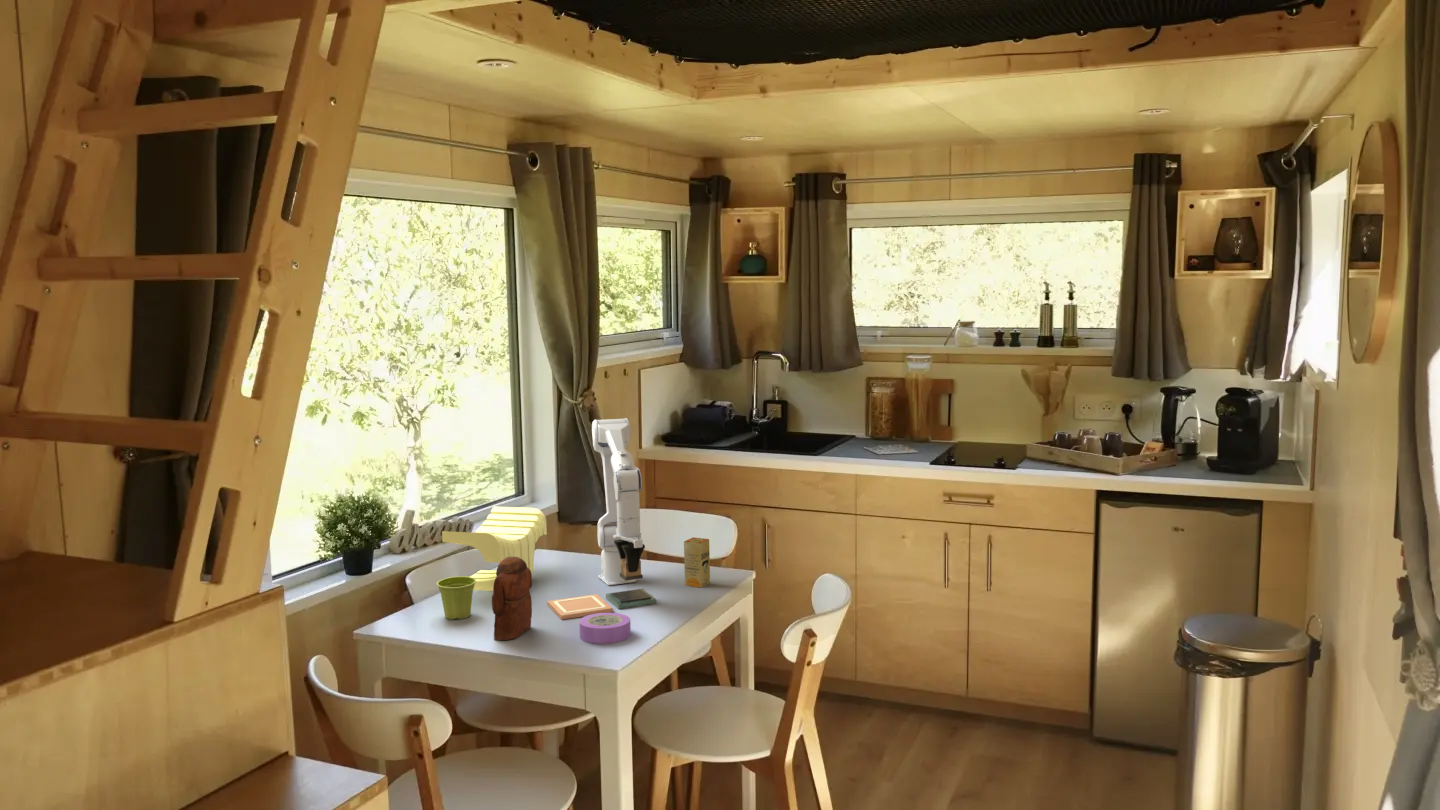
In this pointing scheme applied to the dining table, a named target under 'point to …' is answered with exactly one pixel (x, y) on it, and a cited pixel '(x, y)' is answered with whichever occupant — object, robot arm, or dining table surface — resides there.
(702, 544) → the shoe polish box
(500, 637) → the wooden figurine
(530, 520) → the slatted curved stool
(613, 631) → the masking tape
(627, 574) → the walnut stamp
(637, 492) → the robot arm
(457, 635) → the dining table surface
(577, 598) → the marked board
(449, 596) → the plant pot
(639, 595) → the ink pad
